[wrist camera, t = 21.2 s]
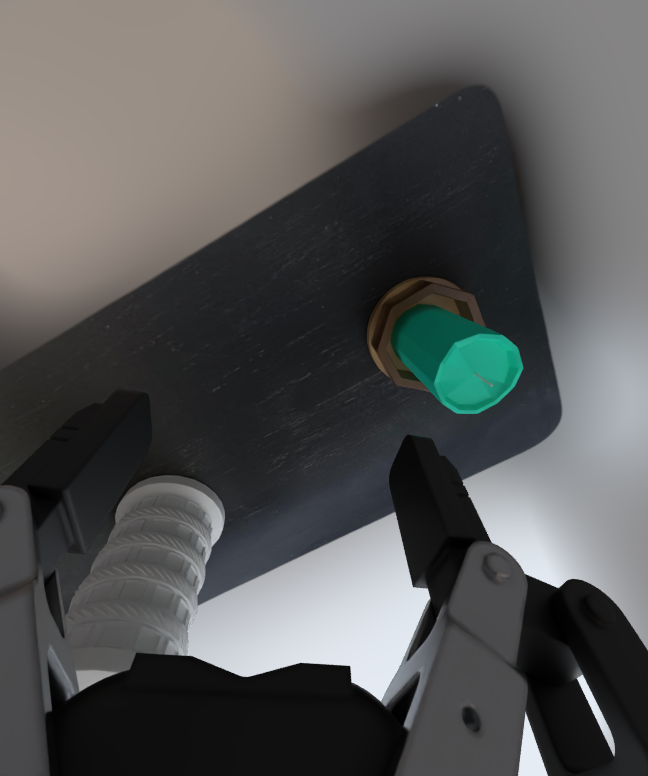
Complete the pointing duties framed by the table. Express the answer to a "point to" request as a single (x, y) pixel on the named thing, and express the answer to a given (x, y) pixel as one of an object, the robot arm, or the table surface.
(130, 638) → the decorative container
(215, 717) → the robot arm
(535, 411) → the table surface
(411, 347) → the candle
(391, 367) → the candle pad
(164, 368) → the table surface
